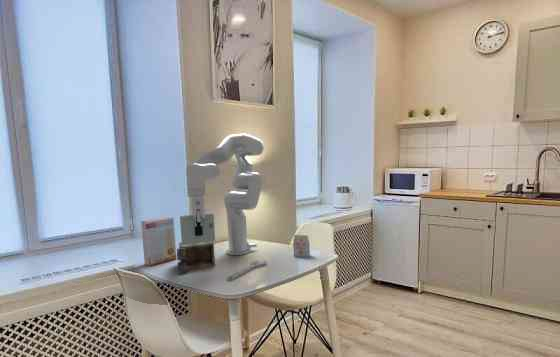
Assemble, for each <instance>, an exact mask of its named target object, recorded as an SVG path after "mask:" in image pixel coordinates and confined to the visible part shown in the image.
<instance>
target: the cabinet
mask: <svg viewBox="0 0 560 357" xmlns="http://www.w3.org/2000/svg"><path fill="white" fill-rule="evenodd" d="M214 244H215V242H214V241H210V242H201V243H193V244H185V245H182V241H181V242H178V248H176V258H177V259H176V260H177V275H184V274H185V275H186V274H188V269H189V270H190V269H195V268H197V269H198V268H203V267H211V266H212V267H213V266H216V263H215V262H216V261H215V260H216V258H215V246H214Z"/></svg>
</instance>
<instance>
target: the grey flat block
mask: <svg viewBox="0 0 560 357" xmlns="http://www.w3.org/2000/svg"><path fill="white" fill-rule="evenodd" d="M196 219H197V218H196ZM201 219H202V228H203V235H202V236H195V220H194V219H193V216H192V214H188V215H180V216H179V224H180V238H181V242H182V245H185V244H193V243H201V242H210V241H213V242H215V241H216V234H215V231H216V230H215V217H214V213H213V212H210V213H205V219H203V218H202V216H201ZM196 224H197V223H196Z"/></svg>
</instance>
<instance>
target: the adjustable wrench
mask: <svg viewBox="0 0 560 357" xmlns="http://www.w3.org/2000/svg"><path fill="white" fill-rule="evenodd" d="M267 262H268V261H267V260H263V261H262V262H259V260H253V261H251V262H250V264H249V265H248V266H246V267H244V268H243V269H241V270H239V271H237V272H234V273H233V274H230V275H229V276H227V278H226V280H227V281H230V282H233V281H235V280H237V279H239V278H240V277H242V276H244V275H245V274H247V273H249V272H251V271H253V270H255V269H258V268H261V267H265V266H266V267H267V265H268V263H267Z"/></svg>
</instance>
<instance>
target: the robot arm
mask: <svg viewBox="0 0 560 357" xmlns="http://www.w3.org/2000/svg"><path fill="white" fill-rule="evenodd" d="M263 151H264V144H263V141H262V140H261V139H259V138H257V137H255V136H252V135H250V134H248V133H238V134H230V135H228V136H226V137H225V138H224V139H223V140H222V142H221V143H220V144H218V145H217V147H216V148H214V149H212V150H210V151H208V152H206V153H204V154H202V155H201V156H199V157H198V158H197V159H196V160H194V161H193V162H192V164H187V165H186V167H185V174H186V191H187V197H188V198H190V207H191V208H190V209H191V215H192V216H193V219H194V220H195V236H202V235H203V228H202V219H201V216H202V218H203V219H205V214H206V213H205V201H204V197H205V196H206V184H205V183H206V182H205V181H213V180H215V179H217V178H218V177H219V176H220V173H221V172H220V171H221V170H220V167H219V166H221V165H223V164H225V163H228V162H229V161H230V160H231V159H232V157H234V156H235V160H236V163H237V164H236V165H237V166H236V169H235V172H234V176H233V179H232V187H233V189H234V190H232V191H229V192H227V193H226V194H225V196H224V198H223V201H224V207H225V210H226V218H227V219H226V220H227V237H228V238H227V239H228V249H226V252H225V253H226V254H227V255H230V256H241V255H245V254H246V255H247V254H248V253H250V252H251V251H252V250H251V248H257V243H256V242H255V243H253V242H250V243H249V242H248V233H247V232H248V231H247V217H246V214H245V212H244V210H245V211H252V210H253V211H254V209H256V208H257V206H258V204H259V199H260V195H261V192H262V188H263V177H262V175H261V174H260V173H258V172H256V171H255V172H254V171H253V169H254V164H253V163H252V161H251V160H250V158H249V157H251V156H252V157H253V156H260V155H261V154H262V153H263ZM196 218H197V219H196ZM196 223H197V224H196Z"/></svg>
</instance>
